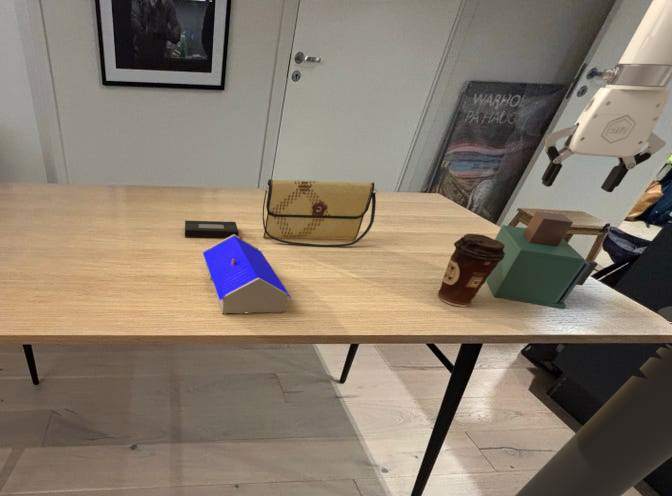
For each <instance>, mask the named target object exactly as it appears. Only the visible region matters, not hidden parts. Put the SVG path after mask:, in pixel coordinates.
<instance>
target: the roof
mask: <svg viewBox="0 0 672 496" xmlns="http://www.w3.org/2000/svg"><path fill="white" fill-rule="evenodd" d="M202 255H203V257H204V260H205V262H204V266H205V265H206V266H205V269H206V268H207V269H206V271H208V272H207V274H209V275H208V277H210V278H209V280H210V279H212V283H213V286H214V288H215V297H216V296H217V298H216V300H217V299H218V300H217V303H218V302H219V303H218V306H219V305H220V306H219V309H220V308H221V309H220V311H221V310H222V312H221V314H222V313H245V312H248V313H247V314H252V313H251V312H271V313H285V312H284V311H286V307H287V303H288V299H289V298H291V295H290V294H289V292H288V291H287V288H286V287H285V286H284V284H283V282H282V281H281V280H280V278H279V276H278V275H277V273H276V272H275V270H274V269H273V267H272V266H271V264H270V263H269V261H268V259H266V256H265V255H264V253H263V252H262V251H261V250H260V249H259V248H258V247H256V246H254V245H253V244H252V243H250V242H248V241H246V240H244V239H243V237H240V236H239V235H238V236H236V235H235V234H233V235H231V236H230V237H228V238H223V239H222V240H221V241H219V242H217V243H215V244H214V245H212V246H210V247H208V248H207V249H205V251H202ZM288 297H289V298H288ZM282 311H283V312H282ZM249 312H250V313H249ZM245 314H246V313H245Z"/></svg>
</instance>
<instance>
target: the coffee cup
mask: <svg viewBox="0 0 672 496" xmlns="http://www.w3.org/2000/svg"><path fill="white" fill-rule="evenodd" d="M453 246H454V247H455V249H454V251H453V253H452V254H451V256H450V259H449V261H448V264H447V266H446V269H445V271H444V275H443V277H442V281H441V285H440V288H439V289H438V292H437V297H438V298H439V299H440V300H442V301H443V302H444V303H447V304H448V305H451V306H455V307H459V308H466V307H468V306H469V305H470V304H471V303H472V300H473V299H474V298H475V297H476V296H477V294H478V293H479V291H480V289H481V288H482V286H483V285H484V284H485V283H486V279H487V277H488V276H489V275H490V274H491V272H492V271H493V269H495V267H496V266H497V264H498V262H499V261H501V260H503V258H504V255H505V253H504V251H503V249H504V247H505V246H504V244H503V243H501V242H499V241H497V240H495V238H492V237H489V236H488V235H484V234H478V233H465V234H463V236H461V237H460V238H459V239H458V240H456V241H455V242H454V243H453Z"/></svg>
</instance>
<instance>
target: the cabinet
mask: <svg viewBox="0 0 672 496" xmlns="http://www.w3.org/2000/svg"><path fill="white" fill-rule="evenodd" d="M526 228H527V227H519V226H512V225H504V224H502V225H501V227H500V228H499V231H498V233H497V234H496V237H495V238H494V240H497V241H499V242H501V243H503V244H504V246H505V247H504V249H503V251H504V253H505V255H504V258H503V260H501V261H499V262H498V264H497V266H496V267H495V269H493V271H492V272H491V274H490V275H489V276H488V277H487V279H486V281H485V283H486V284H487V286H488V288H489V289H490V292H491V294H492V296H493V297H495V298H500V299H506V300H511V301H517V302H523V303H529V304H535V305H540V306H547V307H551V308H556V309H557V308H558V309H563V310H565V309H566V307H567V305H566V303H565V301H564V302H560V301H559V299H560V297H561V296H562V295H563V293H564V292H565V290H566V289H567V288H568V286H569V285H570V283H571V282H572V280H573V279H574V278H575V276H576V275H577V273H578V272H579V271H580V269H581V268H582V266H583V265H584V264H585V263H584V262H583V260H584V259H585V258H584V257H583V256H582V255H581V254H580V253H579V252H578V251H576V250H575V249H574V248H573V247H572V246H571V244H570V243H568V242H567V241H566V240H565V239H564V238H563V239H562V240H561V242H560V244H559V245H558V247H557V246H550V245H543V244H536V243H529V241H528V240H527V239H526V238H525V237H524V235H523V233H524V232H525V230H526ZM578 253H579V254H580V255H581V256H582V257H583V258H582V257H581V256H580V255H579V254H578Z"/></svg>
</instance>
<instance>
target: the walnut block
mask: <svg viewBox="0 0 672 496" xmlns="http://www.w3.org/2000/svg"><path fill="white" fill-rule="evenodd" d="M573 224H574V221H572V220H571V219H570V218H569V217H568V216H566V215H565V214H561V213H554V212H553V213H552V212H546V211H538V210H537V211H535V212H534V214H533V215H532V218H531V219H530V221H529V223H528V225H527V226H526V227H525V228H526V230H525V232H524V233H523V235H524V237H525V238H526V239H527V240H528V241H529V243H536V244H543V245H550V246H557V247H558V245H559V244H560V242H561V240H562V239H564V238H565V236H566V234H567V233H568V231H569V230H570V228H571V227H572V225H573Z"/></svg>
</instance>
